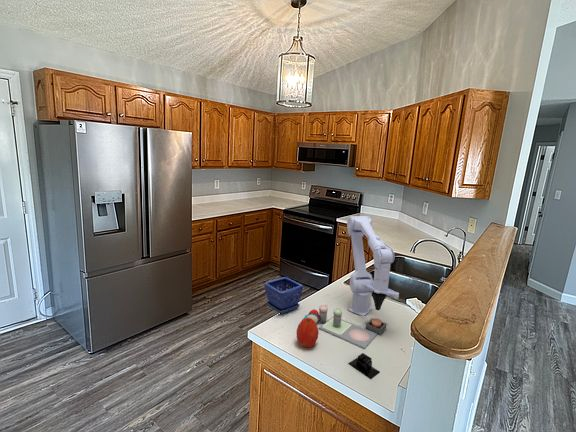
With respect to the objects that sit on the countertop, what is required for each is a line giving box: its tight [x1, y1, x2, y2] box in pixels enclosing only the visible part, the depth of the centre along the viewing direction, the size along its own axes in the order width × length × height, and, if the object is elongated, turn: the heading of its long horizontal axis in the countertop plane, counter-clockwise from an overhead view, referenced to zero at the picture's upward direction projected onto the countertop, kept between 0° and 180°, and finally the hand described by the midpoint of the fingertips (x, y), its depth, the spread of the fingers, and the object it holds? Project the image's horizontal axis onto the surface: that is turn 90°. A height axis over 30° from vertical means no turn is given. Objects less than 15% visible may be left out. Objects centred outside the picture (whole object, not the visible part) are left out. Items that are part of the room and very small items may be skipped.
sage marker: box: [332, 307, 343, 328], centre depth 127 cm, size 4×4×7 cm
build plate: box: [347, 352, 381, 380], centre depth 104 cm, size 12×7×5 cm, turn 40°
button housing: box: [364, 317, 388, 337], centre depth 127 cm, size 6×6×2 cm
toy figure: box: [302, 308, 319, 324], centre depth 128 cm, size 8×5×15 cm
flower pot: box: [264, 276, 304, 315], centre depth 141 cm, size 13×13×12 cm
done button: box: [371, 317, 383, 328], centre depth 127 cm, size 4×4×2 cm
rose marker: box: [318, 304, 329, 325], centre depth 130 cm, size 4×4×7 cm
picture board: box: [318, 315, 378, 350], centre depth 125 cm, size 12×20×1 cm, turn 52°
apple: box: [296, 317, 319, 348], centre depth 115 cm, size 8×8×11 cm
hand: (378, 309), depth 125 cm, fingers closed
